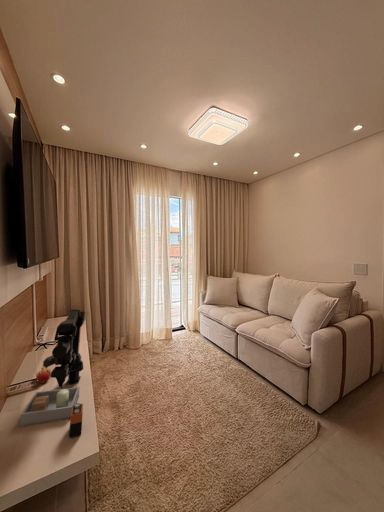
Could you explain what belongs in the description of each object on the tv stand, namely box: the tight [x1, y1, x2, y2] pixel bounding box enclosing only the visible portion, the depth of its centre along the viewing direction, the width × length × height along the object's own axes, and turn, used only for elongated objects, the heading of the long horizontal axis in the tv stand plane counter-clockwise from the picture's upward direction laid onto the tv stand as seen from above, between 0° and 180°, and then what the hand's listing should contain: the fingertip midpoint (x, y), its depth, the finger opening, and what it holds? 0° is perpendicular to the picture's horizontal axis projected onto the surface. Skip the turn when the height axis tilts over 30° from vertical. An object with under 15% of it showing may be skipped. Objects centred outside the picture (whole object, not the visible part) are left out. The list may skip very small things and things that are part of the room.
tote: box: [19, 386, 80, 427], centre depth 99 cm, size 16×20×5 cm
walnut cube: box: [32, 396, 49, 412], centre depth 98 cm, size 5×5×5 cm
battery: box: [68, 402, 84, 439], centre depth 88 cm, size 4×7×10 cm, turn 25°
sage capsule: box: [56, 388, 69, 408], centre depth 101 cm, size 5×5×7 cm
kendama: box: [35, 365, 52, 384], centre depth 126 cm, size 8×6×18 cm
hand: (63, 381), depth 101 cm, fingers open, 9 cm apart
